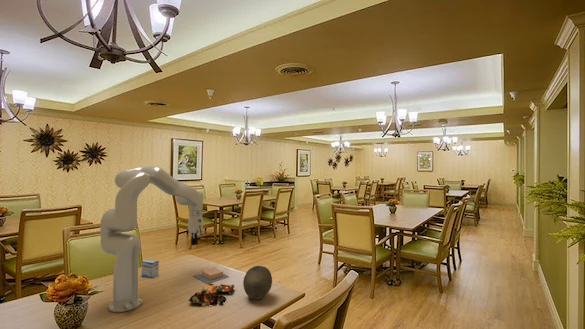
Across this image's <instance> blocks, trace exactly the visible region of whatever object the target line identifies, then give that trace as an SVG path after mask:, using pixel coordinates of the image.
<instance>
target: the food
mask: <svg viewBox="0 0 585 329" xmlns="http://www.w3.org/2000/svg"><path fill="white" fill-rule="evenodd" d="M234 289H235V284H229V285H226V284H223V283H220V285H218V286H217V285H215V284H213V283H208V284H205V285H204V286H203V287H202V289H201V290H199V291H197V292H195V293H194V294H193V295H191V297H189V300H188V302H190V303H191V304H192V303H196V304H200V305H201V307H203V306H205V307H204V308H207V307H206V306H209V305H212V306H215V305H214V304H216V305H217V304H218V305H221V306H223V305H224V303H226V302H227V297H225V296H224V295H221V294H219V295H218V293H219V292H221V293H222V292H223V293H224V292H227V293H228V296H229V295H230V296H231V294H232V293H233V291H234ZM232 290H233V291H232ZM231 292H232V293H231ZM230 293H231V294H230ZM225 301H226V302H225ZM222 304H223V305H222ZM218 305H217V306H218Z"/></svg>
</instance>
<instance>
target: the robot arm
mask: <svg viewBox="0 0 585 329" xmlns="http://www.w3.org/2000/svg"><path fill="white" fill-rule="evenodd" d="M114 184H115V186H117V188H119V190H118V191H117V194H116V196H115V200H114V208H110V209H108V210H107V211H105V212H104V213H103V214H102V217H101V219H100V222H99V224H100V231H99V232H100V247H101V249H102V251H103V252H104V253H105V254H107V255H108V254H109V255H115V256H117V257H116V259H115V262H114V264H113V269H112V270H113V279H112V280H113V282H112V284H113V288H112V289H113V292H112V302H111V303H109V305H108V310H109V311H110V312H112V313H122V312H128V311H131V310H134V309H137V308H138V307H140V306H141V304H142V298H140V297H138V296H139V295H138V294H139V293H138V292H139V291H138V289H139V288H138V286H139V259H140V257H139V256H140V252H141V248H142V247H141V246H142V241H141V240H140V238H139V237H138V236H137V235H134V234H131V233H127V232H131V231H133V230H135V229H136V227H137V223H138V199H139V196H140V194H141V193H142V192H143V191H144V190H145V189H146V188H147V187H148V186H149V185H150V184H151V185H153V186H155V187H156V188H158V189H159V190H161V191H162V192H164V193H165V194H167V195H169V196H172V197H175V201H176V203H177V204H178V205H180V206H188V216H189V217H188V222H187V230H188V232H189V235H190V245H191V246H196V245H198V242H199V240H198V238H199V236H201V234H202V233H203V232H204V219H203V208H204V207H203V206H204V204H203V203H204V201H203V200H204V193H203V192H201V191H197V189H196V188H193V187H192V186H190V185H188V184H186V183H184V182H182V181H179V180H177V179H176V178H175V177H173V175H171V174H170V173H168V172H167V171H166V170H165V169H164V168H162V167H160V166H141V167H136V168H131V169H126V170H122V171H120V172H118V173H117V174H116V175H115V177H114ZM122 232H123V233H122Z"/></svg>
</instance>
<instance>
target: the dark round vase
mask: <svg viewBox="0 0 585 329" xmlns="http://www.w3.org/2000/svg"><path fill="white" fill-rule="evenodd" d="M242 284H243V285H242V286H243V289H244V292H245V294H246V295H247V297H249V298H251V299H253V300H259V299H262V298H264V297H265V296H266V295H267V294H268V293H270V290H271V288H272V285H273V277H272V273H271V271H270V269H268V268H267V267H266V266H262V265H255V266H254V265H253V266H252V267H250V268H249V269H248V270H247V271H246V273H245V275H244V277H243V282H242Z"/></svg>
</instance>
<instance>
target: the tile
mask: <svg viewBox="0 0 585 329" xmlns="http://www.w3.org/2000/svg"><path fill="white" fill-rule="evenodd" d="M201 274H202V276H203V277H205V278H207V279H209V280H212V279H216V278H219V277H222V276H223V274H224V271H222V270H220V269H218V268H215V267H211V268H209V269H205V270H201Z"/></svg>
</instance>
